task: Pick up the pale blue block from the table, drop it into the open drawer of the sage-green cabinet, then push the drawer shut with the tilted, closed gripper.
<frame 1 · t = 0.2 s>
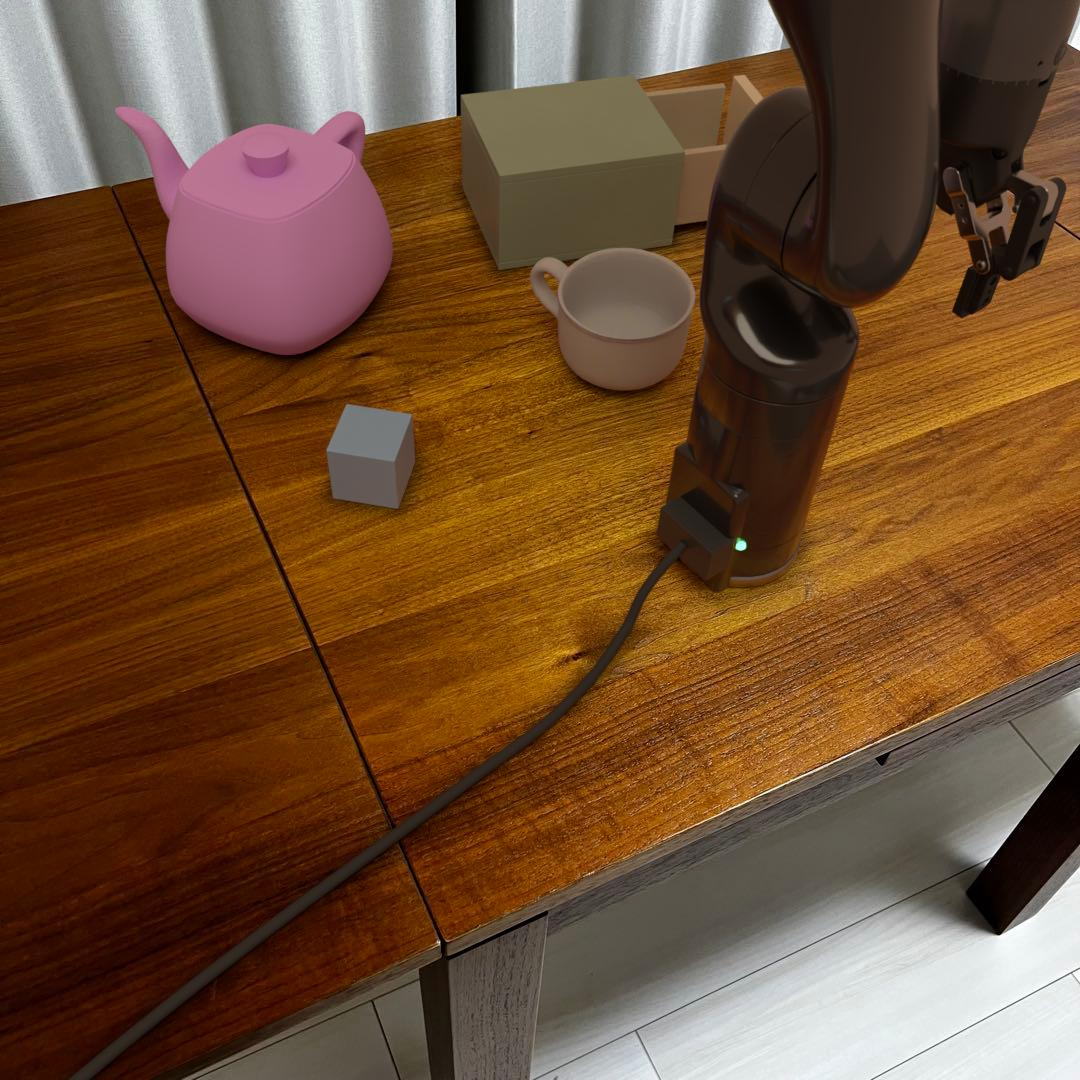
hand: (915, 278, 79), 17 cm above the table, tool pointing down, fingers open, 8 cm apart
block: (374, 480, 89), on the table
teacup: (603, 359, 100), on the table
drawer: (708, 152, 112), point 5 cm above the table, slide at 10.0 cm
cabinet: (564, 215, 113), on the table
teapot: (281, 300, 103), on the table
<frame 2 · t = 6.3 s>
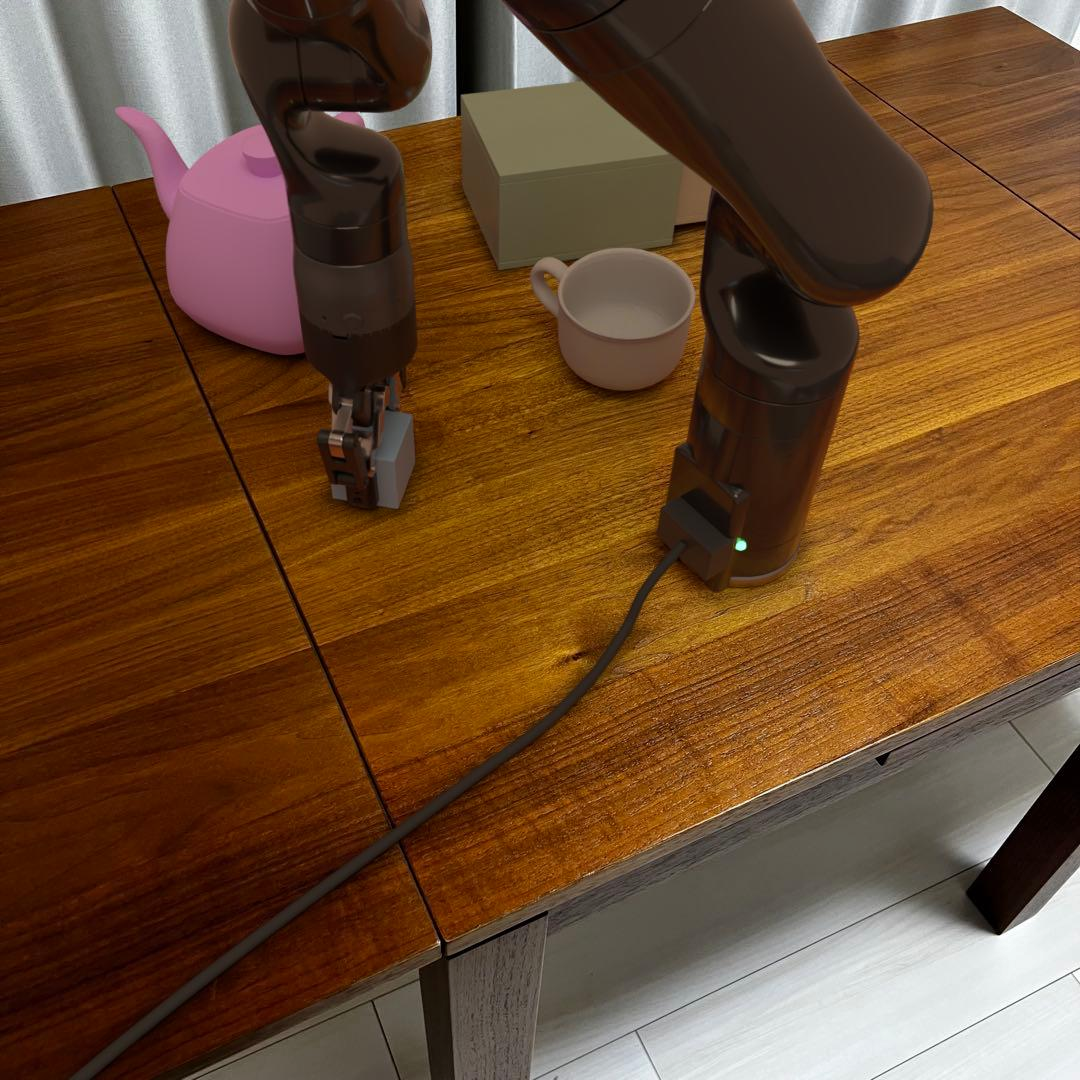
hand: (374, 476, 89), 0 cm above the table, tool pointing down, fingers closed on block, 5 cm apart
block: (374, 480, 89), on the table, touching gripper
everything else where it was.
when the fingers open (8 cm above the table, at t = 14.7 s): block drops 6 cm, resting on drawer.
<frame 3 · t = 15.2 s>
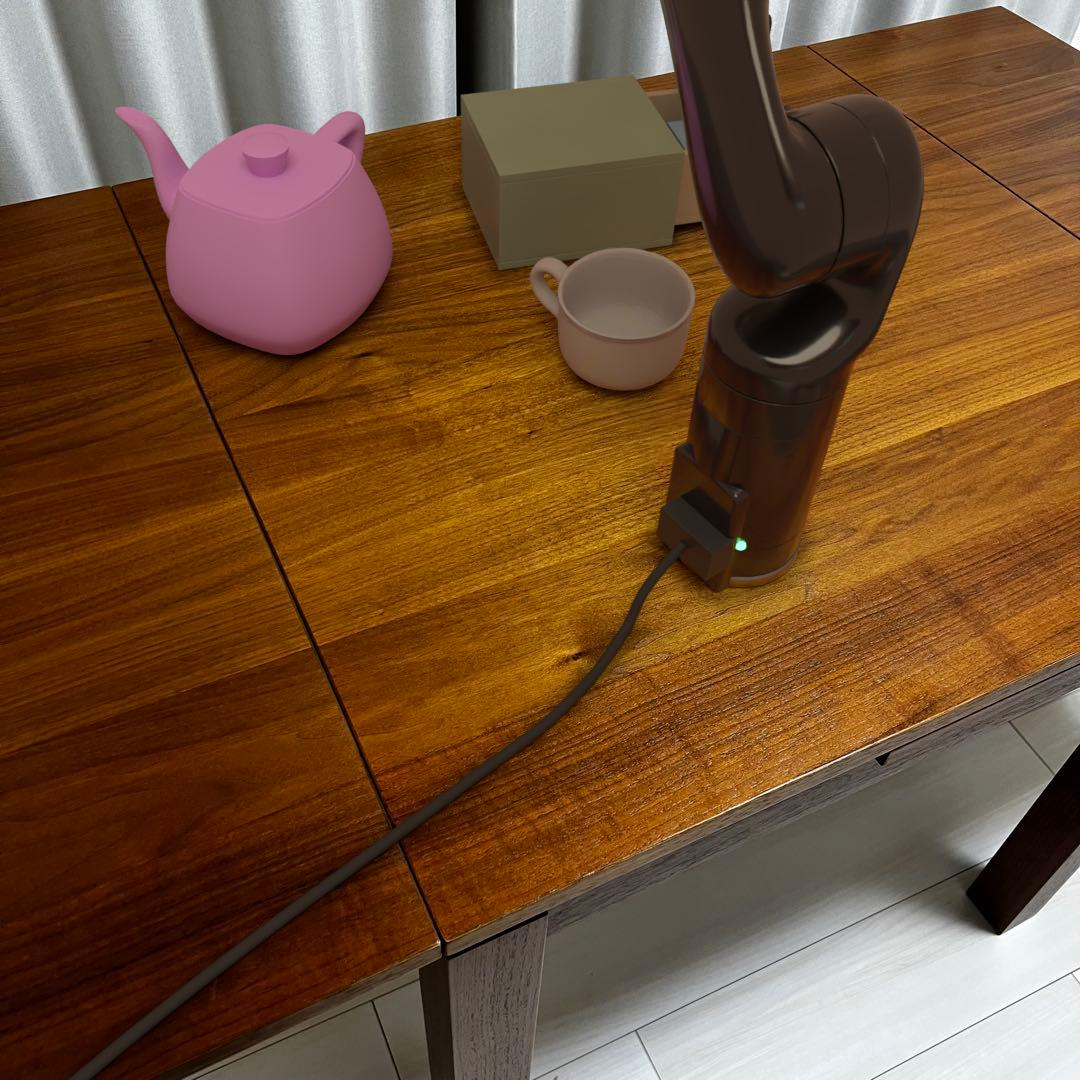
hand: (709, 98, 108), 10 cm above the table, tool pointing down, fingers open, 8 cm apart
block: (694, 180, 114), point 2 cm above the table, touching drawer
drawer: (708, 152, 112), point 5 cm above the table, slide at 10.0 cm, touching block
everything else where it was.
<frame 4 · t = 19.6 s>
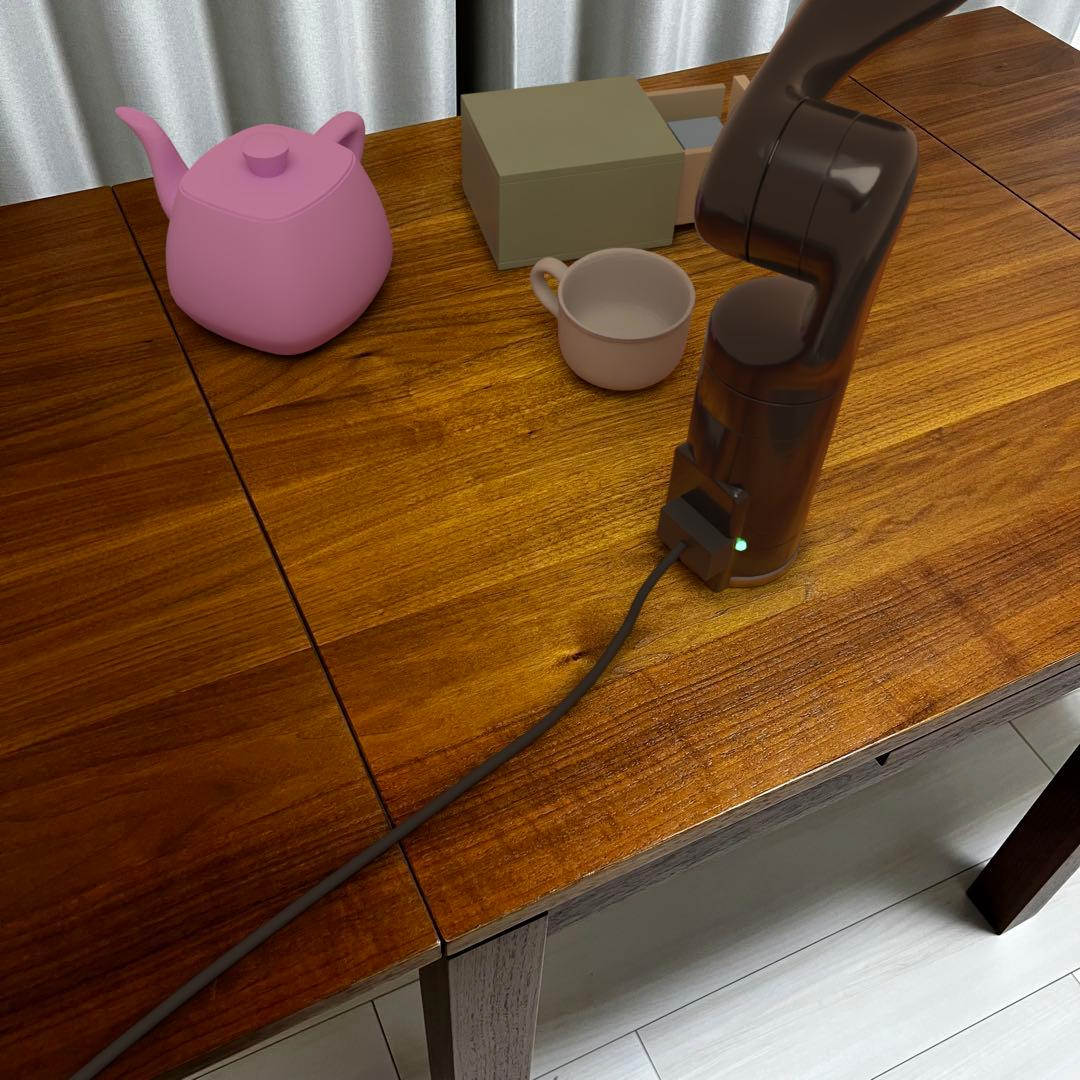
hand: (880, 16, 109), 15 cm above the table, tool tilted 40°, fingers closed
nothing on the table moved.
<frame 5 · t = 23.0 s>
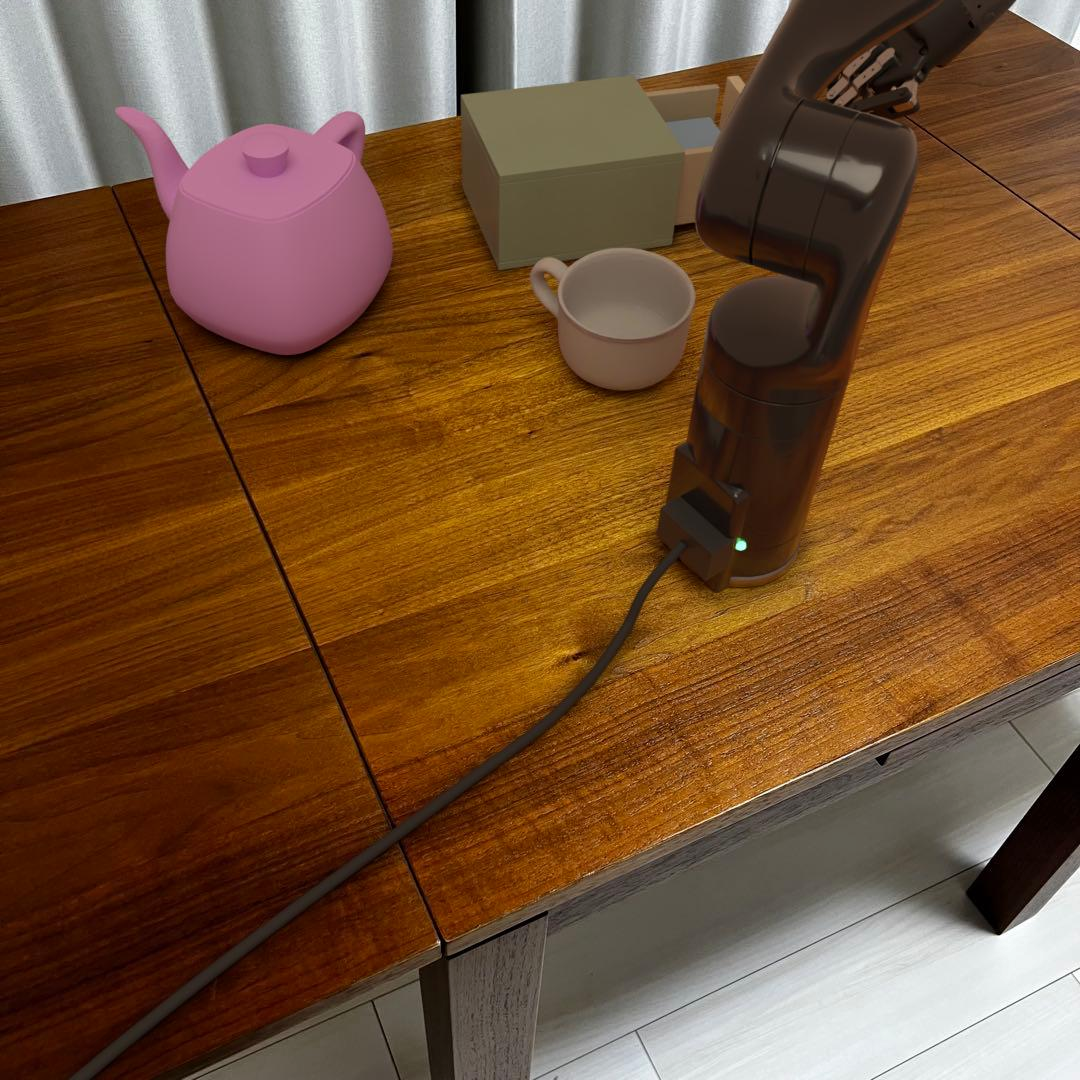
hand: (805, 139, 114), 5 cm above the table, tool tilted 45°, fingers closed
drawer: (702, 153, 112), point 5 cm above the table, slide at 9.3 cm, touching block
everything else where it was.
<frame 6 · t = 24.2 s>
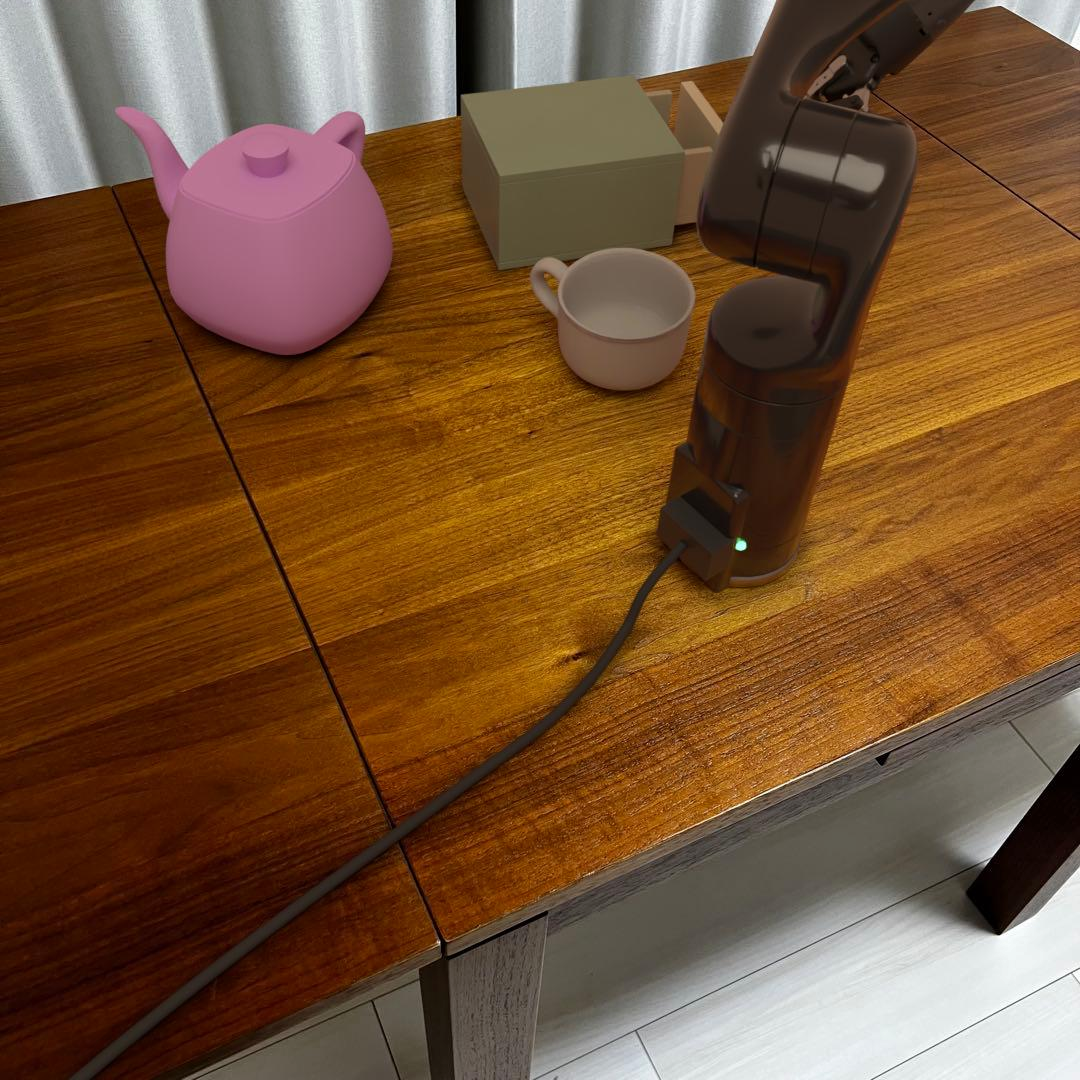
hand: (759, 147, 113), 5 cm above the table, tool tilted 45°, fingers closed
block: (641, 187, 113), point 2 cm above the table, touching drawer
drawer: (655, 159, 111), point 5 cm above the table, slide at 4.6 cm, touching block, gripper
everything else where it was.
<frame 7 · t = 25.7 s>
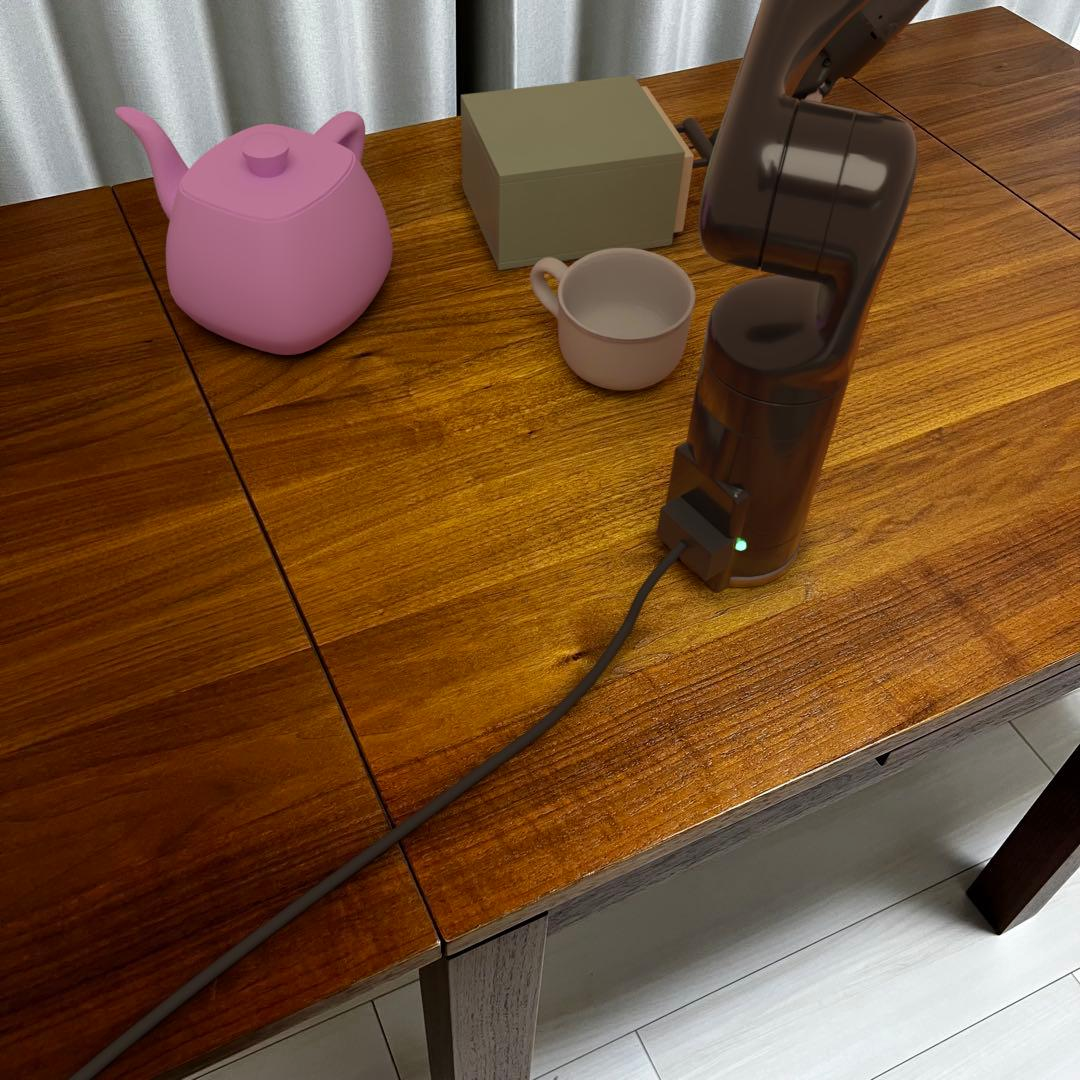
hand: (714, 152, 112), 5 cm above the table, tool tilted 45°, fingers closed
block: (594, 193, 112), point 2 cm above the table, touching drawer
drawer: (608, 165, 110), point 5 cm above the table, slide at 0.0 cm, touching block, cabinet, gripper
everything else where it was.
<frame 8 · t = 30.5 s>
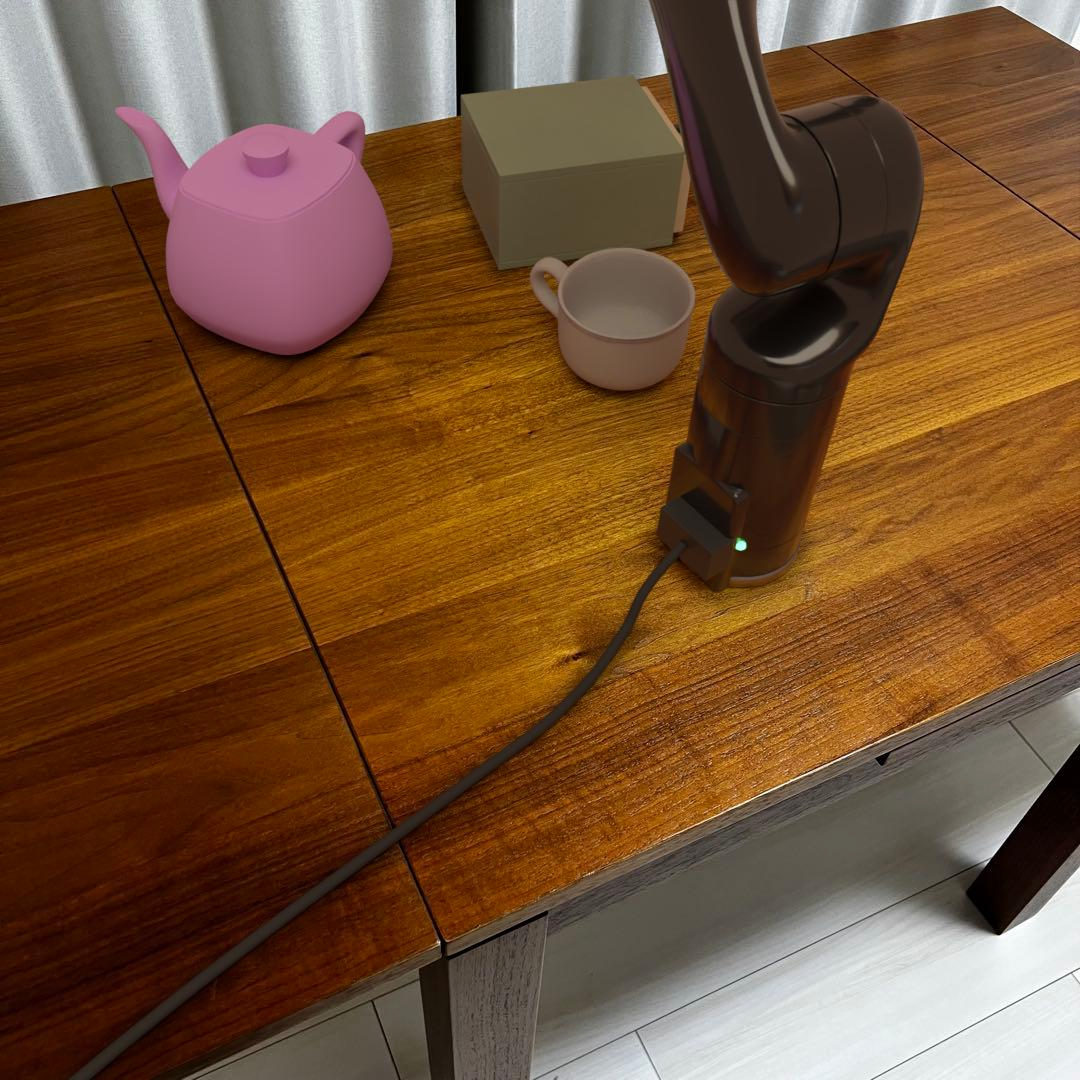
drawer: (608, 165, 110), point 5 cm above the table, slide at 0.0 cm, touching block, cabinet
everything else where it was.
at the end: block inside the target area in the cabinet (2.8 cm from its centre), point 2.0 cm above the cabinet's base; drawer slide at 0.0 cm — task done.
